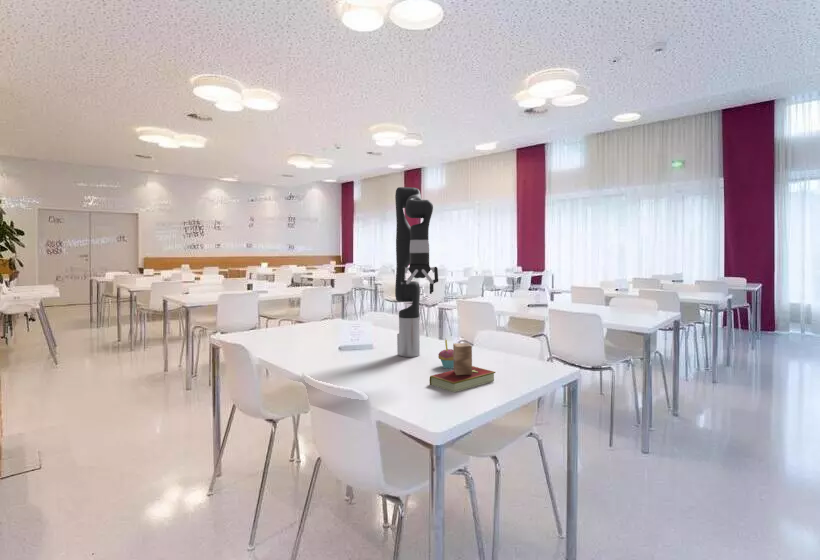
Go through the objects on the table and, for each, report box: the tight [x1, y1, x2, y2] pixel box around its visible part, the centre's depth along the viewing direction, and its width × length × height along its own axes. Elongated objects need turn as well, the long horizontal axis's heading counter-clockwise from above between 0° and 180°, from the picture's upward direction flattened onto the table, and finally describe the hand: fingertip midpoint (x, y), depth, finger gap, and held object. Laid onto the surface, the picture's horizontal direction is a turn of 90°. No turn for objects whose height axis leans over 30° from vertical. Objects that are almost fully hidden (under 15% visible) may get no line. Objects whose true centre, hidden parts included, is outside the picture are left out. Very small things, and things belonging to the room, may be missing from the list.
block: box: [452, 342, 473, 375], centre depth 160 cm, size 6×6×10 cm
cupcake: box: [437, 338, 454, 369], centre depth 183 cm, size 9×8×12 cm
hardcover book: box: [429, 365, 496, 393], centre depth 161 cm, size 12×21×4 cm, turn 130°
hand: (419, 293), depth 176 cm, fingers open, 8 cm apart
